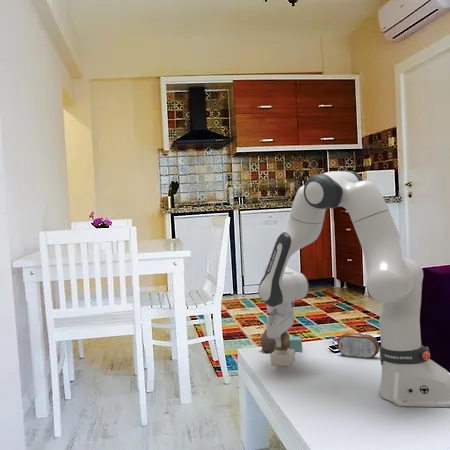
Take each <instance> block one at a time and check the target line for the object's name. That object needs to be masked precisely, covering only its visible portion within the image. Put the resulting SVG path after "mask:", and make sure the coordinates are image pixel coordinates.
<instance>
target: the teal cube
mask: <svg viewBox="0 0 450 450" xmlns="http://www.w3.org/2000/svg"><path fill="white" fill-rule="evenodd" d="M289 340H290V348H289V349H294V350H295V354H297V353H296V352H300V353H302V352H303V340H302V336H300V335H299V336H297V335H296V336H289Z"/></svg>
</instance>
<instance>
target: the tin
mask: <svg viewBox="0 0 450 450" xmlns="http://www.w3.org/2000/svg"><path fill="white" fill-rule="evenodd" d="M336 344H337V349H338V350H339V352H340V354H342V355H343V356H345V357H348V358H357V359H373V358H374V357H376V356H377V355H378V354H379V353H380V343H379V341H378V340H377V338H375V337H374V336H373V335H371V334H364V333H363V334H362V333H354V332H353V333H352V332H346V333H342V335H341V336H340V337H339V338H338V340H337V343H336Z"/></svg>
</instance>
